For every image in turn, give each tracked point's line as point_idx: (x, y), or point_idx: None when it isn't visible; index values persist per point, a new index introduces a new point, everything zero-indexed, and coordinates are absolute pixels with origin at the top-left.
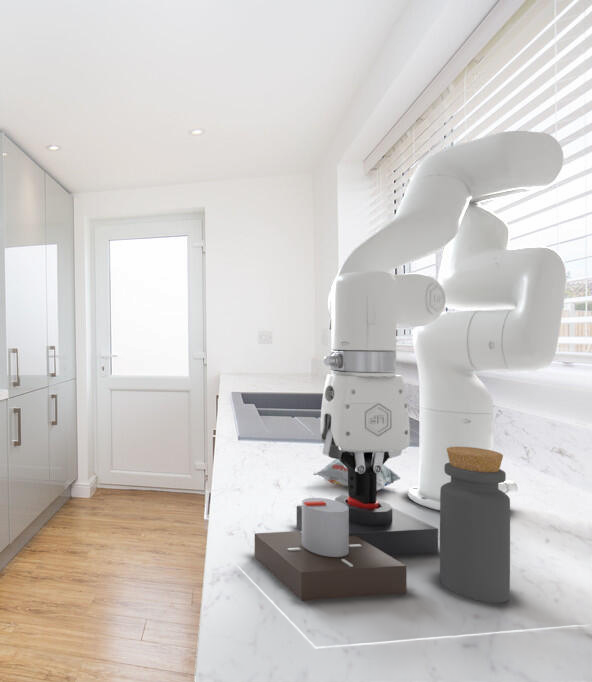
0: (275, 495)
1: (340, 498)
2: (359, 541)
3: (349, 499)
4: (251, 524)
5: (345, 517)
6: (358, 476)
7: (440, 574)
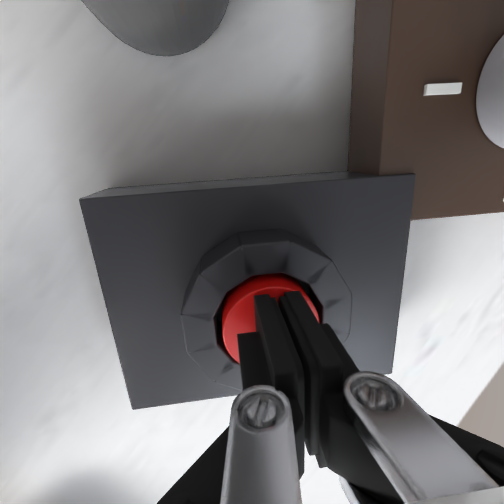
0: None
1: None
2: (401, 124)
3: None
4: (444, 352)
5: None
6: (349, 373)
7: (224, 9)
